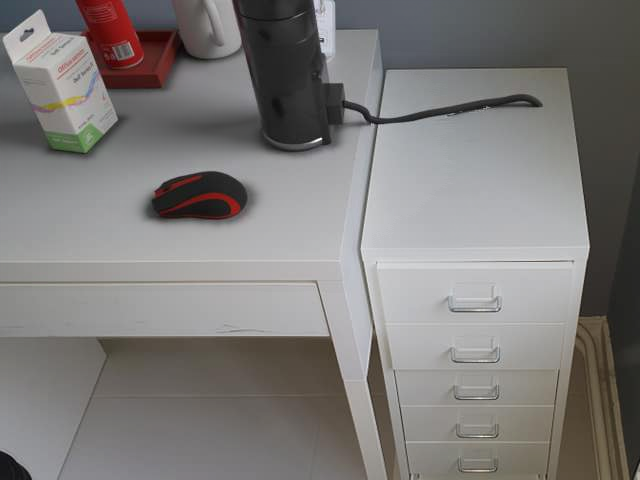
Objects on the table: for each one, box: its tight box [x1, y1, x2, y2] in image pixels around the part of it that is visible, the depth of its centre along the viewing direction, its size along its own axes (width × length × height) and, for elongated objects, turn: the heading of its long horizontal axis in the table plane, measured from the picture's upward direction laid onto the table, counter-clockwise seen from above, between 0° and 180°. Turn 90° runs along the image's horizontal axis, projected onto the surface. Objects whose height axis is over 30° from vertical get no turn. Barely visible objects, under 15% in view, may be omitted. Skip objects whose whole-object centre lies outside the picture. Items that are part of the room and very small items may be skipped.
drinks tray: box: [79, 29, 183, 89], centre depth 108 cm, size 14×13×2 cm
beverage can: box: [74, 0, 144, 69], centre depth 103 cm, size 6×6×15 cm
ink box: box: [2, 9, 119, 154], centre depth 92 cm, size 9×5×15 cm, turn 168°
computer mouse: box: [151, 170, 248, 220], centre depth 87 cm, size 6×11×4 cm, turn 94°
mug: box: [170, 0, 242, 60], centre depth 108 cm, size 12×8×11 cm
